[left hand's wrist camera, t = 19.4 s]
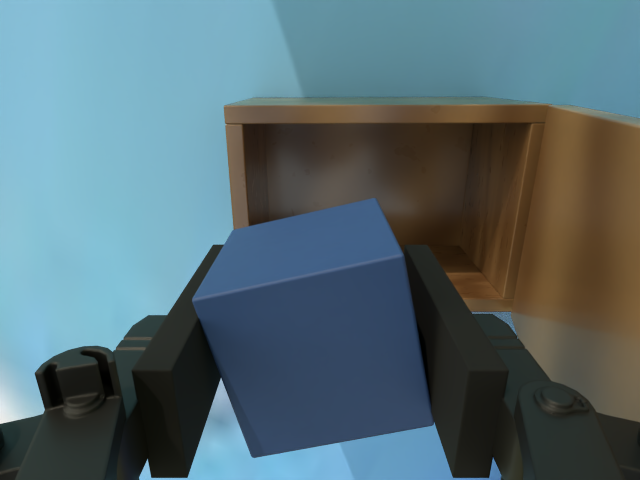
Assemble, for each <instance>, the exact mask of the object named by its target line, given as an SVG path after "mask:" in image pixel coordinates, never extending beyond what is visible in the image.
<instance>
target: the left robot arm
mask: <svg viewBox="0 0 640 480" xmlns="http://www.w3.org/2000/svg"><path fill="white" fill-rule="evenodd" d="M223 246H224V245H213V246H212V247H211V249H210V251H209V252H208V254H207V255H206V257H205V258H204V260H203V261H202V263H201V264H200V266H199V267H198V269H197V270H196V272H195V274H194V275H193V277H192V278H191V280H190V281H189V283H188V284H187V286H186V287H185V289H184V290H183V292H182V293H181V295H180V297H179V298H178V300H177V301H176V303H175V304H174V306H173V307H172V309H171V310H170V312H169V313H168V315H148V316H147V317H145V318H144V319H142V320H141V321H139V322H138V323H136V324H135V325H133V326H132V327H131V329H130V330H129V331H128V333H127V334H126V335H125V337H124V340H122V341H121V342H120V343H119V344H118V346H117V347H116V350H114V351H113V352H112V351H111V350H109V349H108V348H105V347H100V346H83V347H79V348H75V349H71V350H68V351H65V352H63V353H60V354H58V355H56V356H54V357H52V358H51V359H49V360H48V361H46V362H45V363H43V364H42V365H41V366H40V367H39V369H38V370H37V371H36V372H35V376H36V380H37V383H38V387H39V390H40V394H41V397H42V401H43V404H44V408H45V411H44V414H42V415H38V416H35V417H30V418H26V419H21V420H17V421H12V422H8V423H3V424H0V480H139V476H140V474H141V472H142V470H143V467H144V465H145V463H146V461H147V459H148V462H149V467H150V473H151V478H187V477H188V474H189V471H190V468H191V465H192V462H193V459H194V456H195V453H196V450H197V447H198V444H199V441H200V438H201V435H202V432H203V429H204V426H205V424H206V421H207V418H208V415H209V412H210V409H211V406H212V403H213V400H214V397H215V394H216V391H217V388H218V385H219V382H220V379H221V376H220V373H219V370H218V368H217V365H216V362H215V360H214V357H213V355H212V352H211V349H210V347H209V344H208V342H207V339H206V336H205V334H204V331H203V329H202V326H201V323H200V321H199V318H198V316H197V313H196V310H195V308H194V305H193V302H192V298H193V297H194V295H195V293H196V292H197V290H198V288H199V287H200V285H201V283H202V281H203V280H204V278H205V276H206V275H207V273H208V271H209V270H210V268H211V266H212V265H213V263H214V261H215V259H216V258H217V256H218V254H219V253H220V251H221V249H222V248H223ZM404 256H405V262H406V267H407V273H408V279H409V284H410V290H411V295H412V301H413V306H414V312H415V317H416V323H417V329H418V334H419V340H420V345H421V351H422V356H423V362H424V368H425V373H426V379H427V384H428V390H429V395H430V401H431V413H432V416H433V419H434V422H435V425H436V428H437V431H438V434H439V437H440V440H441V443H442V446H443V449H444V452H445V455H446V458H447V461H448V464H449V467H450V470H451V473H452V476H453V478H489V475H490V470H491V465H492V459H493V458H494V460H495V462H496V464H497V466H498V469H499V471H500V473H501V480H640V422H637V421H632V420H628V419H623V418H618V417H614V416H609V415H605V414H602V413H598V412H596V410H595V409H594V407H593V406H592V404H591V403H590V402H589V400H588V399H587V398H585V397H584V396H583V395H581V394H580V393H579V392H578V391H576V390H574V389H572V388H570V387H568V386H566V385H564V384H560V383H557V382H553V381H551V380H550V378H549V377H548V376H547V374H546V373H545V372H544V371H543V369H542V368H541V367H540V365H539V364H538V363H537V361H536V360H535V359H534V358H533V356H532V355H531V354H530V352H529V351H528V350H527V349H525V346H524V345H523V343H522V342H521V341H520V339H517V336H516V334H515V333H514V332H513V330H512V329H511V328H510V326H509V325H508V324H507V323H505V322H504V321H502V320H501V319H499V318H498V317H496V316H494V315H493V314H472V313H471V311H470V310H469V308H468V307H467V305H466V303H465V302H464V300H463V299H462V297H461V296H460V294H459V293H458V291H457V290H456V288H455V287H454V285H453V284H452V282H451V280H450V279H449V277H448V276H447V274H446V273H445V271H444V270H443V268H442V267H441V265H440V264H439V262H438V261H437V259H436V257H435V256H434V254H433V253H432V251H431V250H430V248H429V247H428V245H404Z"/></svg>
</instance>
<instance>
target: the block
mask: <svg viewBox="0 0 640 480" xmlns="http://www.w3.org/2000/svg"><path fill="white" fill-rule="evenodd" d="M192 302H193V305H194V308H195V310H196V313H197V316H198V318H199V321H200V323H201V326H202V329H203V331H204V334H205V336H206V339H207V342H208V344H209V347H210V349H211V352H212V355H213V357H214V360H215V362H216V365H217V368H218V370H219V373H220V376H221V378H222V381H223V383H224V386H225V389H226V391H227V394H228V396H229V399H230V402H231V404H232V407H233V409H234V412H235V415H236V417H237V420H238V423H239V425H240V428H241V430H242V433H243V436H244V438H245V441H246V443H247V446H248V449H249V451H250V454H251V456H252V457H253V458H256V457H262V456H267V455H273V454H278V453H284V452H289V451H295V450H300V449H306V448H311V447H317V446H322V445H328V444H333V443H339V442H344V441H350V440H355V439H361V438H366V437H372V436H378V435H383V434H389V433H394V432H400V431H405V430H411V429H416V428H422V427H427V426H432V425H434V419H433V416H432V413H431V401H430V395H429V390H428V384H427V379H426V373H425V368H424V362H423V356H422V351H421V345H420V340H419V334H418V329H417V323H416V317H415V312H414V306H413V301H412V295H411V290H410V284H409V279H408V273H407V267H406V262H405V256H404V254H403V252H402V250H401V248H400V246H399V244H398V242H397V240H396V238H395V235H394V233H393V231H392V229H391V227H390V225H389V223H388V221H387V219H386V217H385V215H384V213H383V211H382V209H381V207H380V205H379V203H378V201H377V199H376V198H372V199H367V200H363V201H359V202H354V203H350V204H345V205H341V206H336V207H332V208H328V209H323V210H319V211H314V212H310V213H306V214H301V215H297V216H292V217H288V218H283V219H279V220H275V221H270V222H266V223H261V224H257V225H253V226H248V227H244V228H239V229H235V230H233V231H232V232H231V234H230V236H229V237H228V239H227V241H226V243H225V244H224V246H223V248H222V249H221V251H220V253H219V254H218V256H217V258H216V259H215V261H214V263H213V265H212V266H211V268H210V270H209V271H208V273H207V275H206V276H205V278H204V280H203V281H202V283H201V285H200V287H199V288H198V290H197V292H196V293H195V295H194V297H193V298H192Z"/></svg>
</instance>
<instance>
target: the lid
mask: <svg viewBox="0 0 640 480" xmlns="http://www.w3.org/2000/svg"><path fill="white" fill-rule="evenodd" d="M511 318H512V321H513V324H514V327H515V330H516V333H517V336H518V339H520V341H521V342H522V343H523V345H524V346H525V349H527V350H528V351H529V352H530V354H531V355H532V356H533V358H534V359H535V360H536V361H537V363H538V364H539V365H540V367H541V368H542V369H543V371H544V372H545V373H546V374H547V376H548V377H549V378H550V380H551V381H553V382H557V383H560V384H564V385H566V386H568V387H570V388H572V389H574V390H576V391H578V392H579V393H580V394H581V395H583V396H584V397H585V398H587V399H588V400H589V402H590V403H591V404H592V406H593V407H594V409H595V410H596V412H598V413H602V414H605V415H609V416H614V417H618V418H623V419H628V420H632V421H637V422H640V118H635V117H630V116H625V115H620V114H614V113H609V112H604V111H599V110H593V109H588V108H583V107H578V106H573V105H549V106H548V109H547V115H546V121H545V126H544V132H543V137H542V143H541V149H540V154H539V160H538V166H537V171H536V177H535V182H534V188H533V194H532V199H531V205H530V210H529V216H528V222H527V227H526V233H525V239H524V244H523V250H522V255H521V261H520V267H519V272H518V278H517V283H516V289H515V295H514V300H513V306H512V312H511Z"/></svg>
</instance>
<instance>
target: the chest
mask: <svg viewBox="0 0 640 480" xmlns="http://www.w3.org/2000/svg"><path fill="white" fill-rule="evenodd" d="M549 105H552V104H545V103H536V102H527V101H518V100H509V99H499V98H490V97H316V98H250V99H247V100H243V101H239V102H236V103H232V104H228V105H225V106H224V116H225V124H226V126H225V127H226V140H227V152H228V165H229V177H230V190H231V202H232V215H233V227H234V230H235V229H239V228H244V227H248V226H253V225H257V224H261V223H266V222H270V221H275V220H279V219H283V218H288V217H292V216H297V215H301V214H306V213H310V212H314V211H319V210H323V209H328V208H332V207H336V206H341V205H345V204H350V203H354V202H359V201H363V200H367V199H372V198H376V199H377V201H378V203H379V205H380V207H381V209H382V211H383V213H384V215H385V217H386V219H387V221H388V223H389V225H390V227H391V229H392V231H393V233H394V235H395V238H396V240H397V242H398V244H399V246H400V248H401V250H402V252H403V254H404V245H428V247H429V248H430V250H431V251H432V253H433V254H434V256H435V257H436V259H437V261H438V262H439V264H440V265H441V267H442V268H443V270H444V271H445V273H446V274H447V276H448V277H449V279H450V280H451V282H452V284H453V285H454V287H455V288H456V290H457V291H458V293H459V294H460V296H461V297H462V299H463V300H464V302H465V303H466V305H467V307H468V308H469V310H470V311H471V312H512V306H513V300H514V295H515V289H516V283H517V278H518V272H519V267H520V261H521V255H522V250H523V244H524V239H525V233H526V227H527V222H528V216H529V210H530V205H531V199H532V194H533V188H534V182H535V177H536V171H537V166H538V160H539V154H540V149H541V143H542V137H543V132H544V126H545V121H546V115H547V109H548V106H549Z"/></svg>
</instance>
